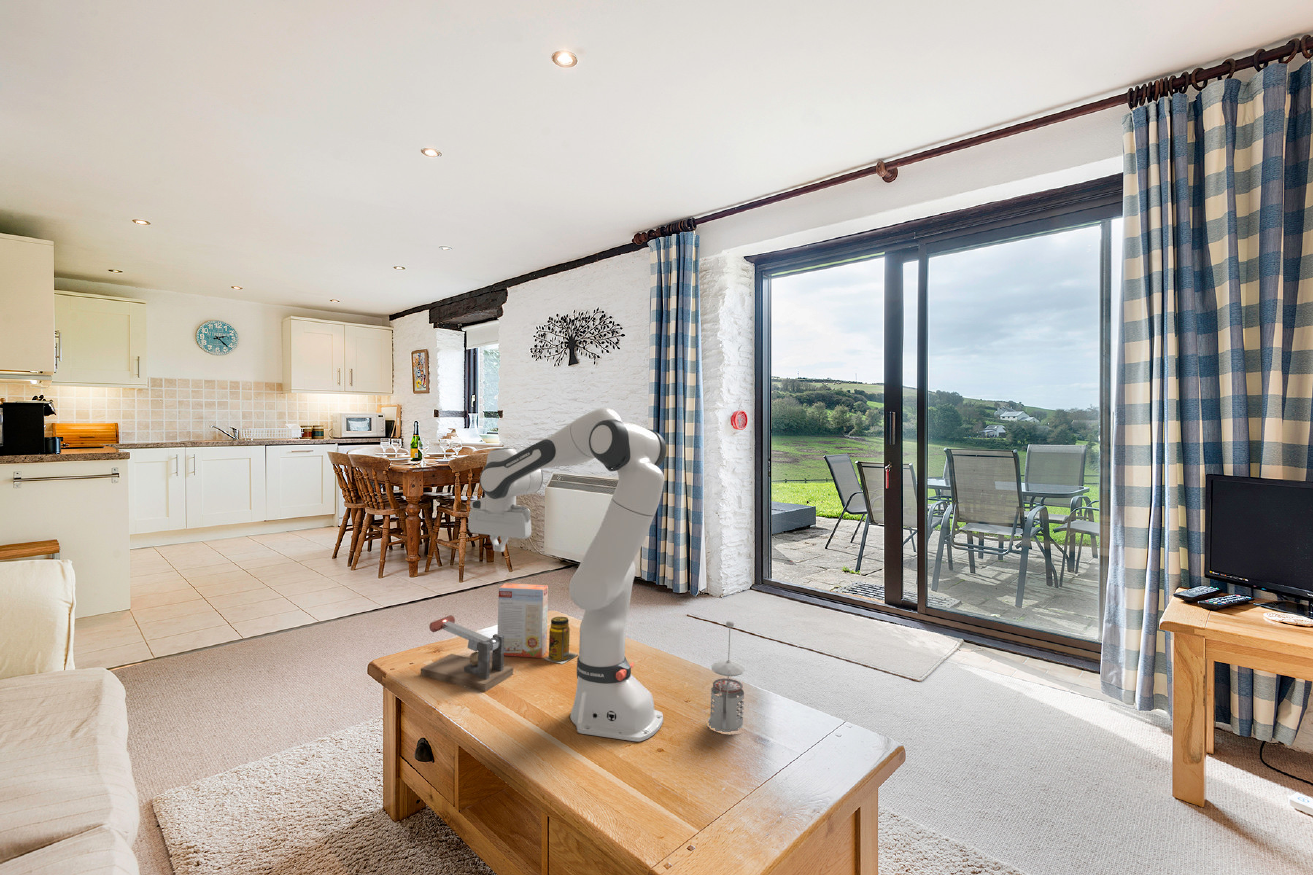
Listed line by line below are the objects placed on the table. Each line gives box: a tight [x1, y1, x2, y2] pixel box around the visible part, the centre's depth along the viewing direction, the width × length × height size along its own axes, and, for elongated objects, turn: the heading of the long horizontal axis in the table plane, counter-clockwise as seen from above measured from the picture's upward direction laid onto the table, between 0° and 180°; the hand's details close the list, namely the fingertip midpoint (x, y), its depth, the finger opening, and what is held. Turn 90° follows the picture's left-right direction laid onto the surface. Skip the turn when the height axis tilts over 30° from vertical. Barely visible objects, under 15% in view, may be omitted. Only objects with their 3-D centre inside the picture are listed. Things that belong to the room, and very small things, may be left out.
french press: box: [707, 620, 746, 732], centre depth 141 cm, size 10×12×25 cm
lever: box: [428, 614, 501, 652], centre depth 165 cm, size 20×7×4 cm, turn 67°
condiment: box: [543, 616, 579, 665], centre depth 180 cm, size 7×8×12 cm
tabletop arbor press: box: [420, 633, 514, 692], centre depth 165 cm, size 22×12×12 cm, turn 67°
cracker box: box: [497, 582, 549, 659], centre depth 182 cm, size 14×6×21 cm, turn 84°
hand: (498, 550), depth 173 cm, fingers closed
